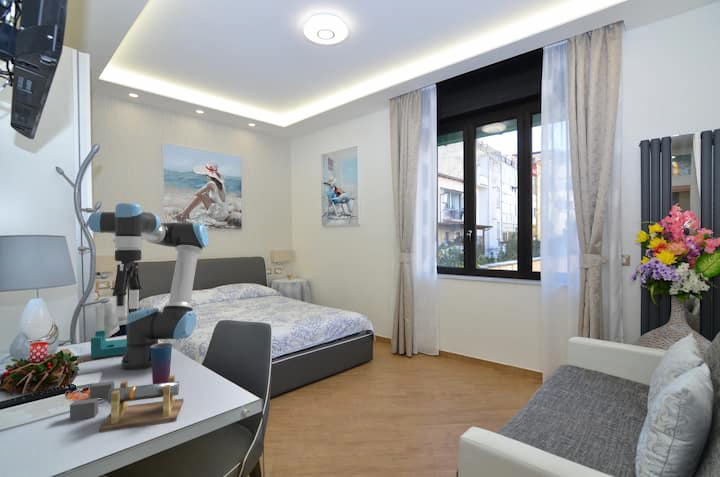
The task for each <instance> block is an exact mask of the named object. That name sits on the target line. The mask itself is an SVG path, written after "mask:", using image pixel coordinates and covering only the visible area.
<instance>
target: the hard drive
mask: <svg viewBox="0 0 720 477" xmlns="http://www.w3.org/2000/svg"><path fill="white" fill-rule="evenodd" d="M102 376H103V372H101V371H99V372H93V373H87V374H81V375H76V376H75V377H74V379H73V380H72V383H71V384H74V385H76V387H77V388H79V389H84V388H83V387H86V386H91V385H92V384H93V383H100V381H101V379H102ZM86 388H87V387H86Z"/></svg>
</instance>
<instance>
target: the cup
mask: <svg viewBox="0 0 720 477" xmlns="http://www.w3.org/2000/svg"><path fill="white" fill-rule="evenodd" d="M172 349H173V343H171V342H158V344H155V345H152V346H151V363H152V367H151V374H152V375H151V376H152V377H151V378H152V384H159V383H167V382H168V378H169V376H171V364H172V363H171V362H172V352H173V351H172Z"/></svg>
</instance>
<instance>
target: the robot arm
mask: <svg viewBox="0 0 720 477" xmlns="http://www.w3.org/2000/svg"><path fill="white" fill-rule="evenodd" d="M114 209H115V211H112V212H111V211H108V212H107V211H96V212H92V213H90V215H89V217H88V221H87V225H88V228H89V230H91V232H93V233H98V234H103V233H108V234H112V235H113V234H114V239H112V240H113V243H114V248H115V249H116V250H115V251H114V261H116V262H121V263H120V264H117V265H116V266H117V268H116V276H115V282H114V287H113V292H112V296H113V297H115V317H126V316H127V317H126V323H125V325H126V339H127V346H126V351H125V353H124V354H123V356H122V359H121V364H120V365H121V366H120V367H121V369H123V370H130V371H131V370H132V371H136V370H142V369H148V368H152V363H151V346H152V345H155V344H159V340H182V339H188V338H189V337H191V335H192V334H193V332H194V331H195V328H196V326H197V313H196V312H195V311H194V307H193V306H192V305H191V300H192V294H193V288H194V281H195V275H196V268H197V263H198V258H199V256H198V255H199V254H201V253H202V251H203V248H206V247H207V246H208V245H209V239H210V238H209V232H208V229H207V227H206V225H205V224H203V223H201V222H162V220H161V218H160V217H159V215H157V214H155V213H152V212H146V211H145V212H144V211H143V209H142V205H140V204H138V203H129V202H128V203H127V202H123V203H122V202H121V203H117V204H116V206H115V208H114ZM142 240H145V241H146V242H148V243H150V244H155V245H159V246H163V247H168V248H174V250H175V251H176V252H177V255H176V261H175V266H174V271H173V272H174V273H173V276H172V277H173V278H172V282H171V288H170V292H169V293H170V294H169V298H168V299H169V300H168V303H167V304H165V305H164V306H163V311H160V310H159V308H158V307H151V308H150V307H149V308H144V309H140V310H135V309H139V290H142V285H141V281H140V273H139V272H140V271H139V263H138V262H139V261H142V250H141V249H142V246H143V245H142V243H143V242H142ZM137 261H138V262H137ZM128 285H129V289H130V290H129V292H128V294H129V295H128V299H127V294H126V293H127V289H128ZM127 300H128V303H127ZM127 304H128V309H130V310H131V309H133V310H135V311H132V312H129V313H127Z"/></svg>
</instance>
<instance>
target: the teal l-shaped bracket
mask: <svg viewBox="0 0 720 477" xmlns="http://www.w3.org/2000/svg"><path fill="white" fill-rule="evenodd" d="M106 333H107V332H106V329H103V330H96V331H95V336H94V337H93V336H91V338H90V358H91V359H95V358H104V357H111V356H112V357H114V356H120V355H121V356H122V355H124V353H125V351H126V346H127V338H121V339H113V340H106V338H107V336H106V335H107V334H106Z"/></svg>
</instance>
